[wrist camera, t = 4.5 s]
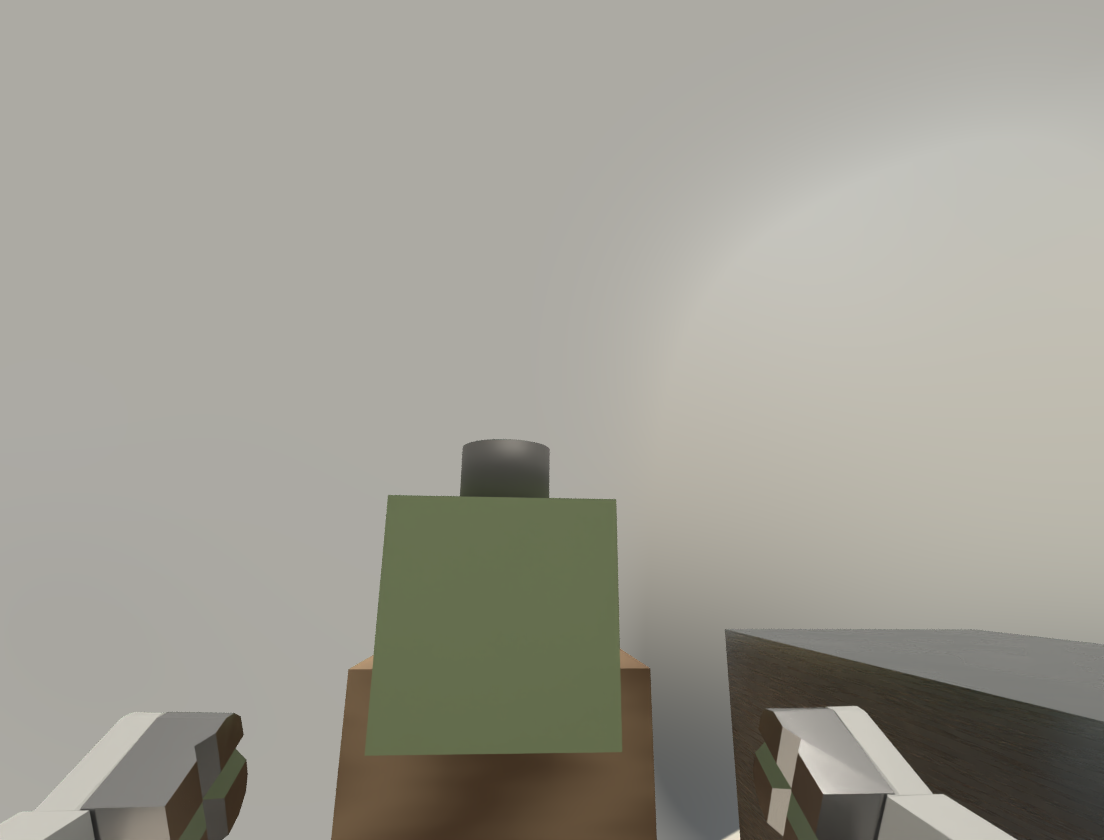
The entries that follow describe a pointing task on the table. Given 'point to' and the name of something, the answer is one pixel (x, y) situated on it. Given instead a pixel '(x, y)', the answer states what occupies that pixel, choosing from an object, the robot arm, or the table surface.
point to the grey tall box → (942, 716)
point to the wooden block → (498, 783)
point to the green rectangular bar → (497, 616)
